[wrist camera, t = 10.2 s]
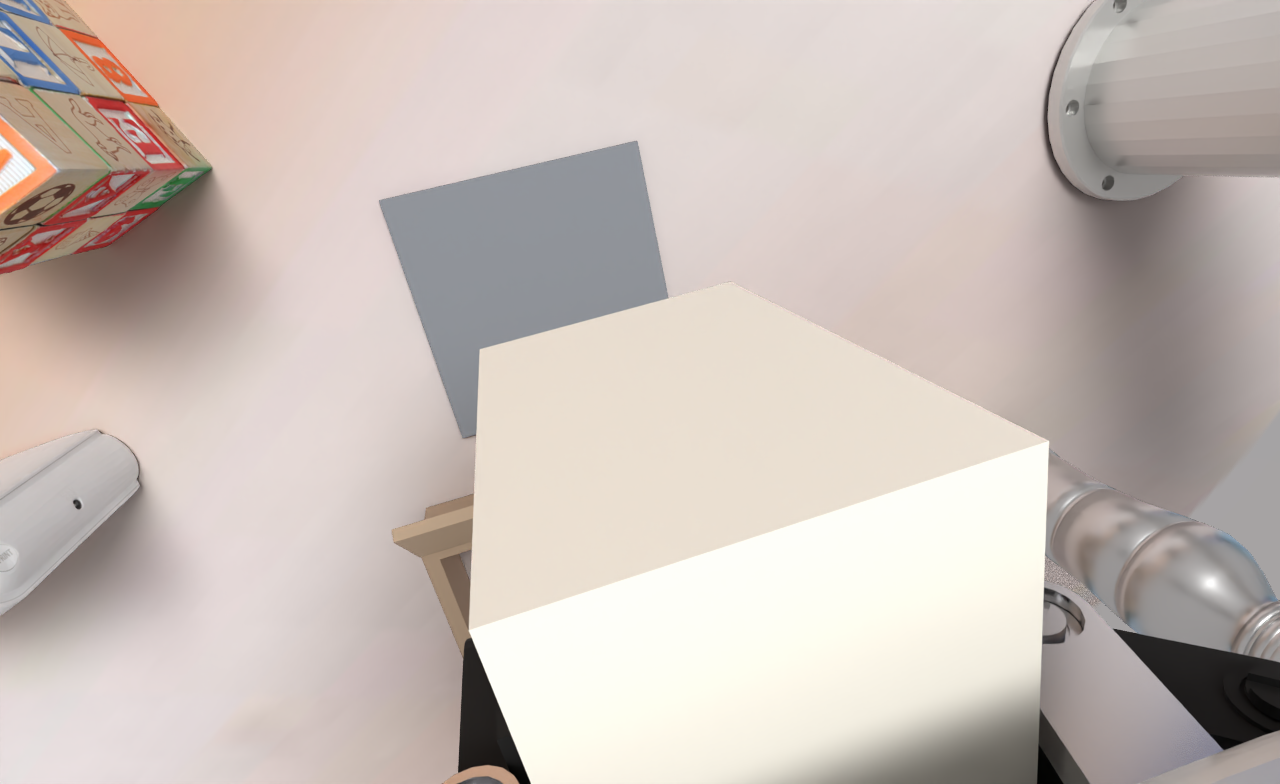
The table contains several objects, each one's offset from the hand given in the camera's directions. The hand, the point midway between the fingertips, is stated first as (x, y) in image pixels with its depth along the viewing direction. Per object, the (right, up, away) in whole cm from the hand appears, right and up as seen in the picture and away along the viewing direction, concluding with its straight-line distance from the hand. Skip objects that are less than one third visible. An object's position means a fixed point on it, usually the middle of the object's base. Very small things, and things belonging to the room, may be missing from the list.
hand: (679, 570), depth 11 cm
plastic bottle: (+23, -2, +34) cm, 41 cm away
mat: (-6, +8, +23) cm, 25 cm away
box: (0, 0, +1) cm, 1 cm away
